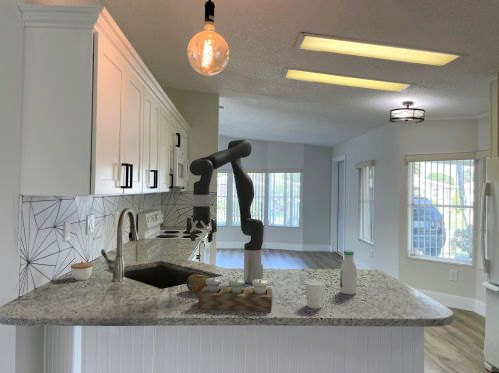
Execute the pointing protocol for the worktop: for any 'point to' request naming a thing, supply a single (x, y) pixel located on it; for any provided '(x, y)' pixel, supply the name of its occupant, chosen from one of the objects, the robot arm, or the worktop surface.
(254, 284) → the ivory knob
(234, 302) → the brown wooden block
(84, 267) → the lidded jar
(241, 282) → the sage knob
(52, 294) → the worktop surface
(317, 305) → the white cup
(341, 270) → the milk bottle
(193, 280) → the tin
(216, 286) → the grey knob
